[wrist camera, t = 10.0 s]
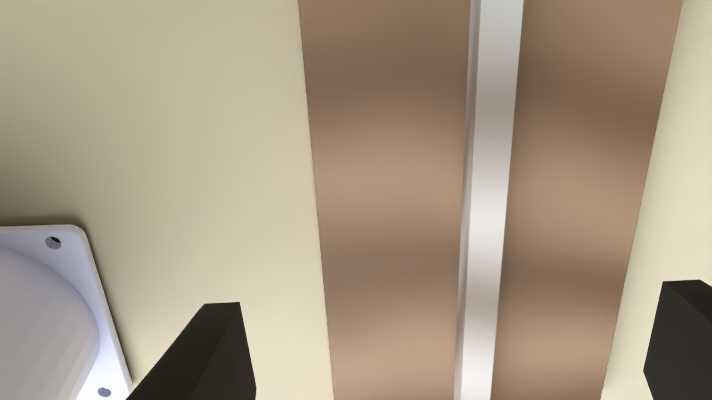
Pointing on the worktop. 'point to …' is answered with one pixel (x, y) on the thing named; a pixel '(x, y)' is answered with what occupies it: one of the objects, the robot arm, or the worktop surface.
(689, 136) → the worktop surface
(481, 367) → the track
